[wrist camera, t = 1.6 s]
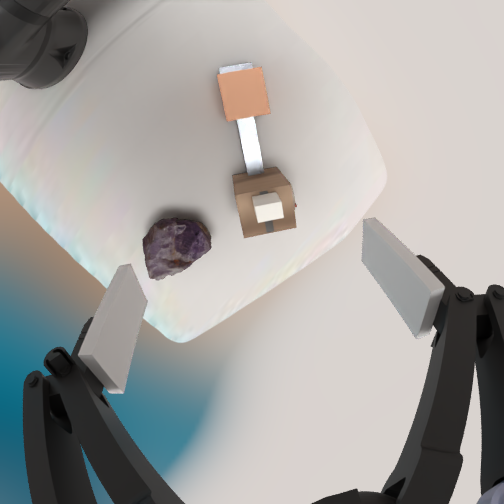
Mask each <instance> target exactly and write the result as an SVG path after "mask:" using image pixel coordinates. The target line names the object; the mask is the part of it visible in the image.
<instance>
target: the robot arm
mask: <svg viewBox="0 0 504 504" xmlns="http://www.w3.org/2000/svg"><path fill="white" fill-rule="evenodd" d="M69 1H70V0H0V81H1V80H14V81H16V82H18V83H20V84H21V85H22V86H24V87H26V88H30V89H43V88H47V87H50V86H53V85H55V84H56V83H58V82H59V81H61V80H62V79H63V78H64V77H66V76H67V75H68V74H69V72H70V71H71V70H72V69H73V68H74V66H75V65H76V63H77V62H78V60H79V58H80V57H81V55H82V52H83V50H84V47H85V44H86V39H87V24H86V21H85V19H84V17H83V16H82V15H81V14H80V13H79V12H77V11H75V10H73V9H71V8H68V7H63V6H64V5H65V4H66V3H68V2H69ZM362 262H363V263H364V265H365V266H366V267H367V269H368V270H369V272H370V273H371V274H372V276H373V277H374V278H375V280H376V281H377V282H378V284H379V285H380V287H381V288H382V289H383V291H384V292H385V293H386V295H387V297H388V298H389V299H390V301H391V302H392V304H393V305H394V307H395V308H396V309H397V311H398V312H399V314H400V315H401V317H402V318H403V320H404V321H405V323H406V324H407V326H408V327H409V329H410V330H411V332H412V334H413V335H414V337H415V338H416V339H419V338H421V337H424V336H426V335H429V334H430V331H431V329H432V326H433V325H434V327H435V328H436V330H437V332H436V335H435V337H434V340H433V342H432V345H431V347H433V349H432V354H431V359H430V364H429V368H428V372H427V376H426V380H425V384H424V388H423V392H422V395H421V399H420V402H419V405H418V409H417V412H416V415H415V418H414V421H413V424H412V427H411V430H410V432H409V435H408V438H407V441H406V443H405V446H404V448H403V451H402V453H401V456H400V458H399V461H398V463H397V465H396V467H395V469H394V471H393V472H392V473H391V475H390V476H389V478H388V480H387V481H386V483H385V485H384V487H383V489H382V491H381V493H378V492H367V491H364V492H363V491H362V492H358V490H357V489H353V490H350V491H347V492H343V493H340V494H336V495H332V496H328V497H325V498H323V499H321V500H319V501H316V502H314V503H312V504H449V501H450V498H451V496H452V494H453V491H454V488H455V485H456V482H457V480H458V476H459V474H460V471H461V467H462V463H463V456H462V455H461V454H460V446H461V443H462V439H463V434H464V429H465V426H466V421H467V415H468V410H469V405H470V398H471V391H472V384H473V375H474V366H475V364H476V370H477V378H478V386H479V395H480V408H481V426H482V427H481V429H482V452H481V479H480V482H481V495H482V496H481V497H480V499H479V501H478V502H477V504H504V288H503V287H501V286H500V285H490V286H489V287H488V289H487V292H486V294H481V295H474V293H473V292H472V291H470V290H469V289H467V288H465V287H456V286H455V285H453V283H452V282H451V281H450V280H449V279H448V278H447V277H446V276H445V275H444V274H443V273H442V272H441V271H440V270H439V269H438V268H437V267H435V265H434V264H433V263H432V262H431V261H430V260H429V259H428V258H426V257H424V256H422V255H418V256H415V255H414V254H413V253H412V252H411V251H410V250H409V249H408V248H407V247H406V246H405V245H404V244H403V243H402V242H401V241H400V240H399V239H398V238H397V237H396V236H395V235H393V234H392V233H391V232H390V231H389V230H388V229H387V228H386V227H385V226H384V225H383V224H382V223H380V222H379V221H378V220H377V219H376V218H369V219H364V220H363V243H362ZM147 302H148V301H147V299H146V297H145V295H144V293H143V290H142V288H141V286H140V284H139V282H138V279H137V277H136V275H135V273H134V270H133V268H132V266H131V264H126V265H122V266H119V267H118V269H117V271H116V273H115V275H114V277H113V279H112V281H111V283H110V285H109V287H108V289H107V291H106V293H105V295H104V297H103V299H102V301H101V303H100V306H99V308H98V310H97V312H96V314H95V316H94V317H91V318H90V319H89V320H88V321H87V323H86V324H85V325H84V327H83V329H82V331H81V334H80V336H79V340H77V343H76V345H75V347H74V350H73V352H72V354H71V356H70V355H69V354H68V353H67V351H66V350H65V349H64V348H63V347H56V348H54V349H52V350H51V351H50V352H49V353H48V354H47V355H46V357H45V359H44V366H45V367H46V369H47V370H48V371H49V372H50V373H51V374H52V375H49V376H46V377H45V376H44V375H43V374H42V373H41V372H40V371H33V372H31V373H30V374H29V375H28V376H27V377H26V379H25V381H24V389H23V435H24V449H25V460H26V468H27V476H28V483H29V488H30V494H31V498H32V503H33V504H97V502H96V499H95V496H94V493H93V490H92V487H91V484H90V480H89V477H88V473H87V469H86V466H85V462H84V458H83V453H82V449H81V446H82V448H83V450H84V452H85V454H86V456H87V458H88V460H89V462H90V463H91V466H92V467H93V469H94V471H95V472H96V474H97V476H98V478H99V480H100V481H101V483H102V485H103V486H104V488H105V490H106V491H107V493H108V494H109V496H110V498H111V499H112V501H113V502H114V504H185V503H184V502H183V501H182V500H181V499H180V498H179V497H178V496H177V495H176V494H175V492H174V491H173V490H172V489H171V488H170V487H169V486H168V485H167V483H166V482H165V481H164V480H163V479H162V477H161V476H160V475H159V474H158V473H157V471H156V470H155V469H154V468H153V466H152V465H151V464H150V463H149V461H148V460H147V459H146V457H145V456H144V455H143V453H142V452H141V451H140V449H139V448H138V447H137V445H136V444H135V442H134V441H133V439H132V438H131V436H130V435H129V434H128V432H127V431H126V429H125V428H124V426H123V424H122V423H121V421H120V420H119V418H118V417H117V415H116V413H115V412H114V410H113V409H112V407H111V405H110V403H109V402H108V400H107V398H106V397H105V396H104V395H103V393H102V391H103V387H105V388H106V389H107V390H108V392H109V393H124V390H125V386H126V381H127V377H128V372H129V368H130V364H131V360H132V356H133V352H134V348H135V344H136V341H137V337H138V333H139V329H140V326H141V322H142V319H143V315H144V312H145V309H146V305H147ZM80 444H81V445H80Z"/></svg>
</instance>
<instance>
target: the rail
mask: <svg viewBox="0 0 504 504" xmlns="http://www.w3.org/2000/svg"><path fill="white" fill-rule="evenodd" d="M251 68H253V66H252V62H250V63H243V64H237V65H232V66H226V67H221V68H219V73H220V74H222V73H227V72H233V71H238V70H244V69H251ZM237 125H238V130H239V135H240V140H241V145H242V150H243V155H244V160H245V165H246V170H247V174H248V176H252V175H257V174H262V173H264V169H263V163H262V157H261V152H260V147H259V141H258V136H257V131H256V125H255V120H254V117H248V118H243V119H238V120H237Z"/></svg>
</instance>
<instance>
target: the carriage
mask: <svg viewBox="0 0 504 504" xmlns="http://www.w3.org/2000/svg"><path fill="white" fill-rule="evenodd" d="M217 78H218V82H219V87H220V92H221V96H222V101H223V106H224V110H225V115H226V120H227V122H228V121H233V120H238V119H243V118H248V117H254V116H260V115H266V114H270V108H269V103H268V97H267V92H266V87H265V82H264V77H263V72H262V67H257V68H251V69H244V70H238V71H233V72H227V73H222V74H218V75H217Z"/></svg>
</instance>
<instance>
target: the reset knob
mask: <svg viewBox="0 0 504 504" xmlns="http://www.w3.org/2000/svg"><path fill="white" fill-rule="evenodd" d="M252 200H253V205H254V210H255V214H256V218H257V221H258V223H260V222H265V221H270V220H275V219H280V218H284V215H283V208H282V202H281V200H280V198H279V196H278V194H277V193H276V192H273V193H268V194H263V195H258V196H253V197H252Z"/></svg>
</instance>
